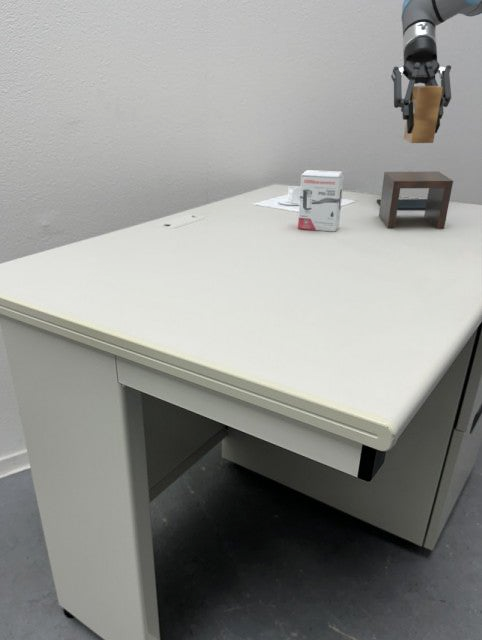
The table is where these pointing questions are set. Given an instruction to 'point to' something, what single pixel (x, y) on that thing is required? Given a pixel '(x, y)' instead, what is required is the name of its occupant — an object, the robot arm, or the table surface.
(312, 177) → the ink box
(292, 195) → the teacup and saucer
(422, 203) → the mat
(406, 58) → the robot arm
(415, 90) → the tape carton
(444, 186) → the shelf
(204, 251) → the table surface
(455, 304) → the table surface
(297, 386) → the table surface
